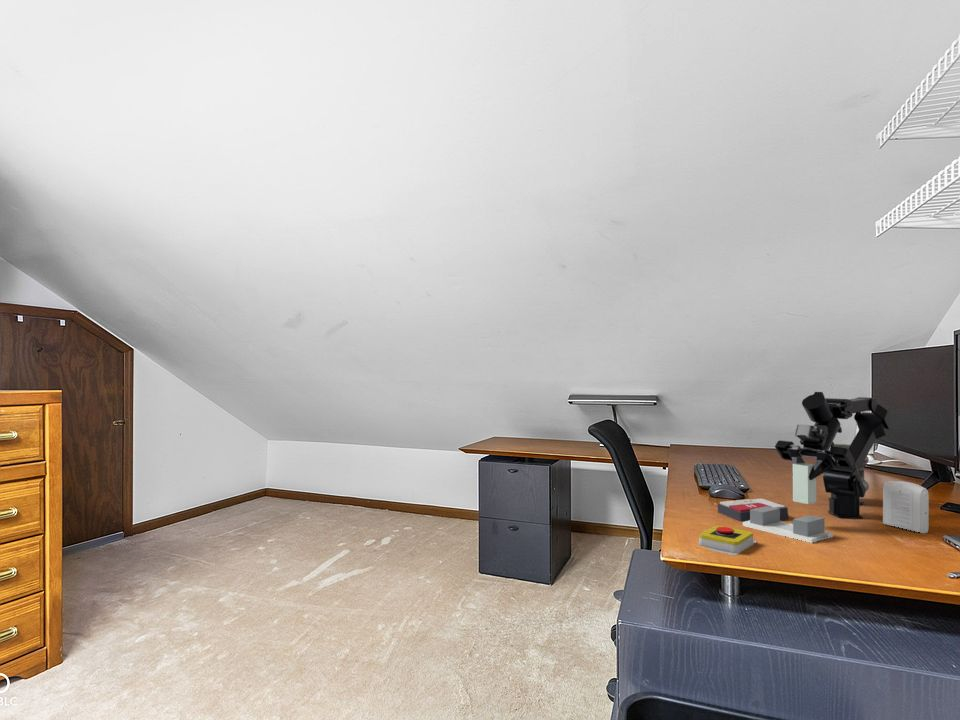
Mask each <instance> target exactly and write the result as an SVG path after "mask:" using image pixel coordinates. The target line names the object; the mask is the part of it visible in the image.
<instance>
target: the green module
mask: <svg viewBox="0 0 960 720" xmlns="http://www.w3.org/2000/svg"><path fill="white" fill-rule="evenodd" d="M814 464H815V463H813V464H812V463H806V462H805V463H795V464H793V476H792V501H793V502H795V503H798V504H799V503H800V504H804V505H805V504H806V505H810V504H815V503H817V477H816V478H814V479H813V480H810V479H809V475H810V472H811V470H812V468H813V466H814Z"/></svg>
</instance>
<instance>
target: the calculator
mask: <svg viewBox="0 0 960 720" xmlns="http://www.w3.org/2000/svg"><path fill="white" fill-rule="evenodd" d="M765 506H769V507H774V508H779V509H780V521H786V520H785V519H788V520H789V510H788V509H789V508H788V507H787V506H785V505H783V504H779V503H776V502H774V501H771V500H768V499H764V498H753V499H750V498H746V499H736V500H725V501H719V503H717V513H718V514H721V515H723V516H725V515H726V517H728V518H731V519H732V520H736V521H737V522H742V523H743V522H745V521H748V520H750V510H751V509H756V508H761V507H765Z"/></svg>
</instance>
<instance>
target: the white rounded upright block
mask: <svg viewBox="0 0 960 720" xmlns="http://www.w3.org/2000/svg"><path fill="white" fill-rule="evenodd" d="M929 495H930V494H929V491H928V489H927V488H925V487H923V486H922V485H919V484H917V483H913V482H909V481H903V480H891V481H885V483H884V484H883V488H882V523H883V524H884V525H887V526H889V527H890V526H892V527H894V526H895V528H898V527H899V528H898V529H902V528H903V530H906V529H907V530H906V531H910V530H911V532H914V531H915V533H918V532H920V533H919V534H928V532H929V526H930V525H929V521H930V520H929V519H930V518H929V515H930V514H929V513H930V512H929V510H930V509H929V505H930V503H929V502H930V501H929V499H930V498H929Z"/></svg>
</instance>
